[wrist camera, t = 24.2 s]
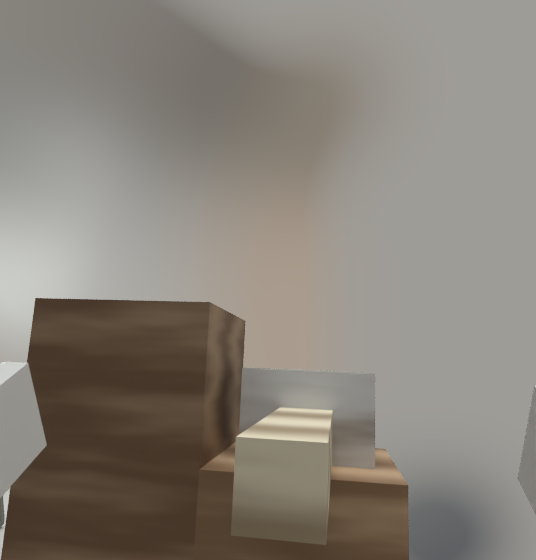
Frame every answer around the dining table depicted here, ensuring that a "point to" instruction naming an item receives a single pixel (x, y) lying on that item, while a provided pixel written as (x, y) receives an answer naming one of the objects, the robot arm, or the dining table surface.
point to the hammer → (297, 448)
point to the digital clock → (1, 512)
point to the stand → (162, 445)
